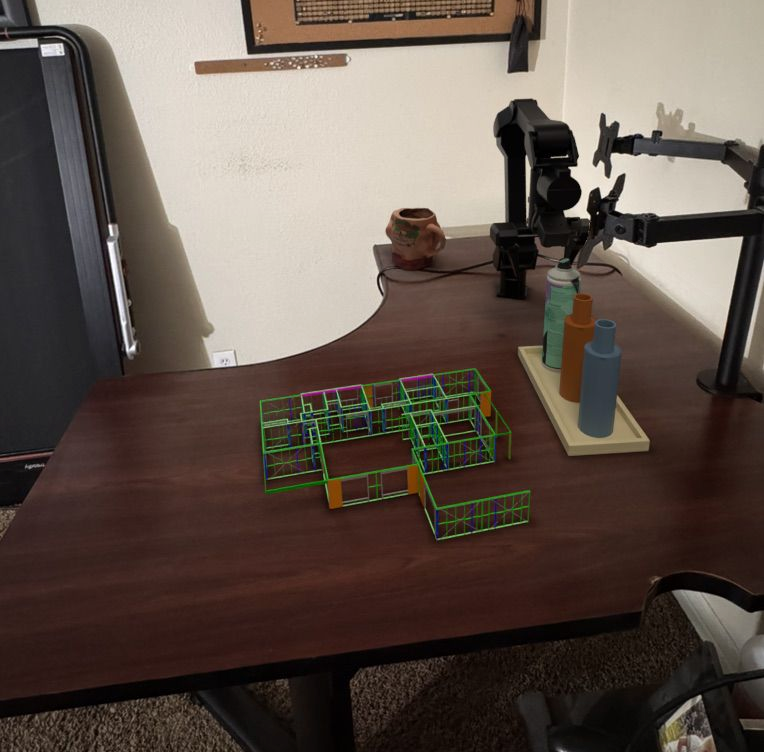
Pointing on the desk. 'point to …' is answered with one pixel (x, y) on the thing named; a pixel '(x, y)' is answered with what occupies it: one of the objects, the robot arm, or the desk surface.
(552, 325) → the spray can
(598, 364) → the slate bottle
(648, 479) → the desk surface
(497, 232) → the robot arm
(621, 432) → the tray
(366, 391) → the house model
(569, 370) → the amber bottle
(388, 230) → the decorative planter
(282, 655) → the desk surface
